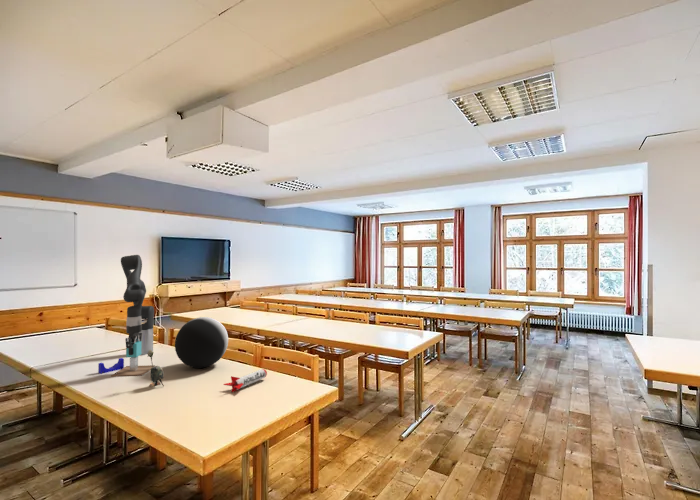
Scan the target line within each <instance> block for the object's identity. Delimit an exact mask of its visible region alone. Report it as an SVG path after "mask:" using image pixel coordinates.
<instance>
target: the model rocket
mask: <svg viewBox="0 0 700 500" xmlns="http://www.w3.org/2000/svg"><path fill="white" fill-rule="evenodd" d="M267 375H268V372H267V370H266V369H265V368H261V369H258V370H256V371H254V372H251V373H248V374H246V375H243V376H240V377H237V376H230V379H231V382H227V383H223V386H226V387H227V386H229V387H231V392H232V393H233V392H236V391H238V390H240V389H242V388H244V387H247V386H248V385H251V384H254V383H256V382H258V381H261V380H262V379H265V378H266V377H267Z"/></svg>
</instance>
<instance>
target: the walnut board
mask: <svg viewBox="0 0 700 500" xmlns="http://www.w3.org/2000/svg"><path fill="white" fill-rule="evenodd" d="M154 366H156V365H154V364H153V367H154ZM151 368H152V364H151V365H150V364H149V365H138V369H137V370H136V371H130V365H126V366H124V368H123V369H120V370H117V371H116V372H113V374H111V375H110V377H113V378H114V377H138V376H139V377H142V376H143V375H145V374H146V373H148V372H149V371H151Z"/></svg>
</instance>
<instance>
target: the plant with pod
mask: <svg viewBox="0 0 700 500" xmlns="http://www.w3.org/2000/svg"><path fill="white" fill-rule="evenodd" d="M153 355H154V350H153V351H152V350H149V351H148V354H147V357H149V358H150V361H151V362H153ZM151 365H152V368H151V370H150V380H151V382H150V383H149V385H148V386H149V387H156V386H160V385H162V387H165V384H164V383H163V381H162V379H164V377H165V372H164V370H163V368H162V367H161V366H160V365H155V366H154V367H153V365H154V364H153V363H151Z"/></svg>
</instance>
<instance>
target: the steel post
mask: <svg viewBox="0 0 700 500" xmlns="http://www.w3.org/2000/svg"><path fill="white" fill-rule="evenodd" d="M129 366H130V371H136V370H137V369H138V366H139V356H138V357H129Z"/></svg>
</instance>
